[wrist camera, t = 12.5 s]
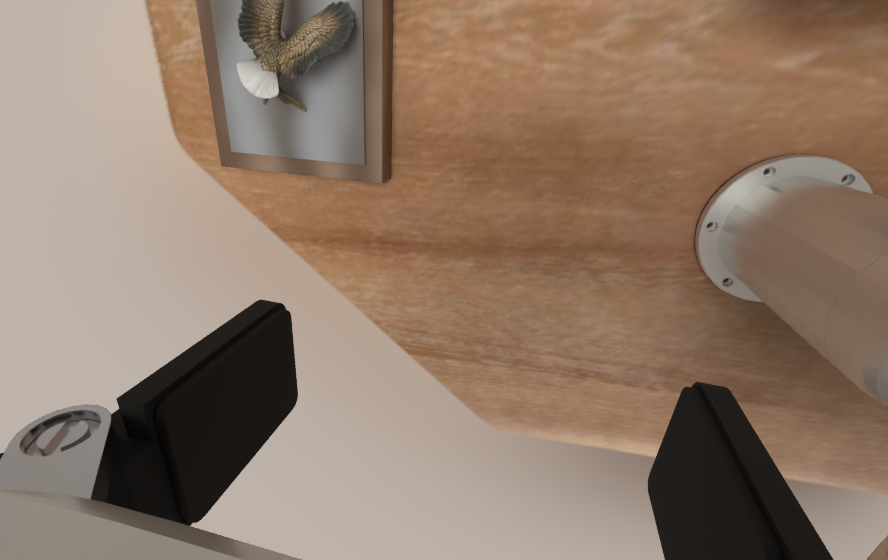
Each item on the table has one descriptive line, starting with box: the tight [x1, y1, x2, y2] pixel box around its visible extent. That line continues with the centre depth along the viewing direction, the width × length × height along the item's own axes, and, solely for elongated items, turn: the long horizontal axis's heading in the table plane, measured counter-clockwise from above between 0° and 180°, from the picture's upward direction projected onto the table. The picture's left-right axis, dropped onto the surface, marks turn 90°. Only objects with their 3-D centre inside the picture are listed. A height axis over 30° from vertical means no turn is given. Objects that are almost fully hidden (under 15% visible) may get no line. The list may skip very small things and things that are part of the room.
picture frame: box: [196, 0, 393, 183], centre depth 36 cm, size 16×18×3 cm
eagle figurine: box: [237, 0, 354, 112], centre depth 31 cm, size 8×7×9 cm
